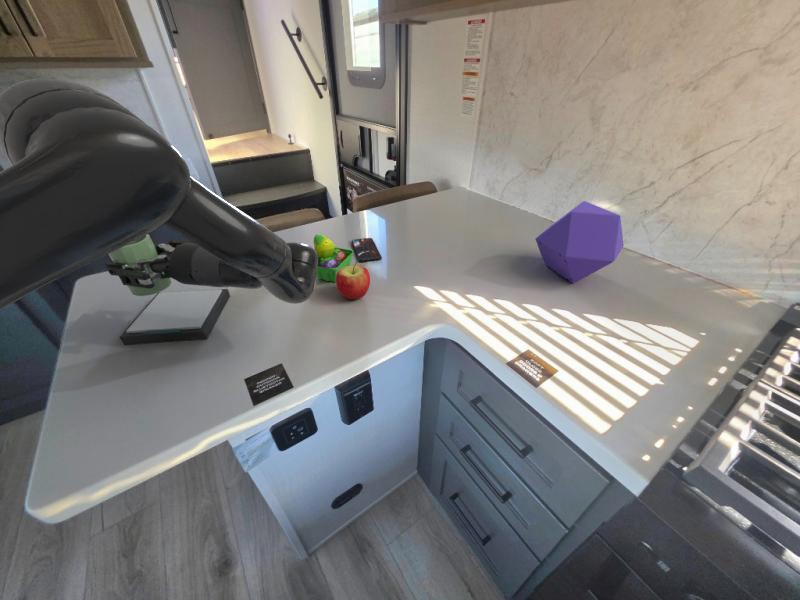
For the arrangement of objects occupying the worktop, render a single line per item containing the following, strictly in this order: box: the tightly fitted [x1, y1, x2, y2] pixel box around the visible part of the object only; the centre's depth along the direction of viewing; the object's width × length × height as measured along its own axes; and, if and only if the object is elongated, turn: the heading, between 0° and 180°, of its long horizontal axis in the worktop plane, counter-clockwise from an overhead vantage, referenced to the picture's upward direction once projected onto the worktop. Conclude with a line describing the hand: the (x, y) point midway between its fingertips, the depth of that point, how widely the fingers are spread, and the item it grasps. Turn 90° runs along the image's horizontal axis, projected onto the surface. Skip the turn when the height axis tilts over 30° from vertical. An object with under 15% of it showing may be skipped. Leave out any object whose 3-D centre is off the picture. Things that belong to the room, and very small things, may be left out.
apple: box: [335, 259, 371, 300], centre depth 78 cm, size 8×8×10 cm
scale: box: [119, 288, 231, 346], centre depth 71 cm, size 16×16×3 cm
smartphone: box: [351, 237, 383, 263], centre depth 101 cm, size 7×1×15 cm
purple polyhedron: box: [535, 200, 625, 285], centre depth 87 cm, size 22×20×20 cm
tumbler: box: [108, 233, 172, 297], centre depth 59 cm, size 7×7×10 cm
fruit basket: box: [313, 233, 354, 283], centre depth 86 cm, size 11×9×11 cm
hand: (126, 258), depth 59 cm, fingers closed on tumbler, 6 cm apart
